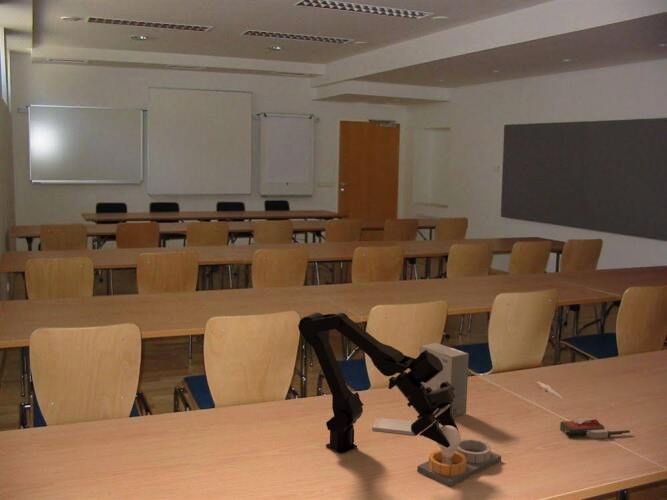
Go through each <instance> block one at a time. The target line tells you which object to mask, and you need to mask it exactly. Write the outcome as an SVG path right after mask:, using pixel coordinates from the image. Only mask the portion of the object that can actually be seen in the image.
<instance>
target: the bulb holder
mask: <svg viewBox="0 0 667 500" xmlns="http://www.w3.org/2000/svg"><path fill="white" fill-rule="evenodd" d="M500 462H502V455H500V454H498V453H495V452H493V451H492V445H490V444H489V443H488V442H486V441H483V440H481V439H476V438H461V441H460V444H459V446H458V447H457V448H456V450H455V452H454V455H453V460H452V465H448V464H442V453H441V449H439V450H435V451H433V452H430V453H429V456H428V461H425V462H423V463H421V464H418V465H417V473H420V474H422V475H424V476H427V477H429V478H431V479H433V480H436V481H437V482H440V483H441V484H444V485H446V486H448V487H454V486H456V485H458V484H460V483H462V482H463V481H465V480H467V479H469V478H471V477H473V476H475V475H477V474H479V473H481V472H482V471H484V470H487V469H488V468H490V467H492V466H494V465H496V464H498V463H500Z"/></svg>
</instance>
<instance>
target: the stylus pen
mask: <svg viewBox="0 0 667 500" xmlns="http://www.w3.org/2000/svg"><path fill="white" fill-rule="evenodd" d="M537 384H539V385H538V386H539V387H540V388H541V389H542V390H543V391H544V392H548V393H549V394H551V395H553V396H554V397H557V398H559V399H561V400H564V398H563V397H562V396H561V395H560V394H559V393H558V392H556V390H554V389H553V388H552V387H551V386H550V385H549V384H545V383H543V382H541V381H539V380H538V381H537Z"/></svg>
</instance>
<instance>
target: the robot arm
mask: <svg viewBox="0 0 667 500" xmlns="http://www.w3.org/2000/svg"><path fill="white" fill-rule="evenodd" d="M297 326H298V327H297V328H298V332H299V333H300V335H301V337H302V338H303V340H304V341H305V342H306V343H307V345H309V346H310V347H311V348H312V350H313V352H314V354H315V356H316V359H317V362H318V365H319V366H320V369H321V371H322V373H323V376H324V378H325V382H326V384H327V385H328V388H329V389H328V390H329V391H330V393H331V395H332V397H331V398H332V399H331V400H332V403H331V408H332V413H333V416H332V417H331V418H330V419H329V420H327V421H326V422H325V424H326V428H327V431H329V443H326V444H325V447H326V448H328V449H330V450H333V451H335V452H336V453H338V454H344V453H347V452H349V451H352V450H354V449H357V448H358V445H357V444H355V428H354V426H355V424H356V423H357V420H359V419H360V418H361V417H362V415H363V412H364V408H363V406H364V403H363V402H362V400H361V399H360V394H359V392H358V391H356V392H354V393H353V391H351V389H349V388H348V385H347V383H346V380H345V378H344V375H343V373H342V370H341V368H340V365H339V363H338V360H337V358H336V356H335V354H334V353H335V352H334V350H333V348H332V345H331V342H330V331H333V330H336V331H337V332H338V333H340V334H341V335H342V336H344V337H345V338H346V339H347V340H349V341H350V342H351V343H352V344H353V345H355V346H356V347H357V348H358V349H360V351H362V352H363V353H365V354H366V355H367V356H368V357H369V358H370V361H371V362H372V364H373V366H374V367H375V368H376V370H378V371H379V372H380V373H381V375H383V376H384V377H390V378H389V379H388V381H389V382H388V389H389V390H392V389H393V388H394V387H395V386H396V387H397V389H398V390H399V391H400V392H401V394H402V396H404V398H405V399H406V400H407V402H408V403H407V404H406V405H407V407H408V408H410V407H412V408H413V409H414V410H415V411H416V413H417V414H418V415H417V416H416V418H417V419H416V420H415V421H414V423H413V424H412V425H411V431H412V432H413V433H414V435H413V436H416V437H417V436H418V435H419V436H420V437H424V438H427V439H429V440H430V441H433V442H434V443H435V442H436V443H439V444H441V445H443V446H445V447H446V448H448V447H449V446H450V443H449V442H448V440H447V438H446V437H445V435H444V434H443V432H442V431H441V429H440V428H441V427H443V426H446V425H450V426H453V427H455V428H456V429H457V430H458V431H459V427H458V426H457V422H456V421H455V418H454V417H453V416H452V407H453V404H452V405H451V406H448V405H450V404H451V403H452V402H453V401H454V400H453V398H455V394H454V392H453V391H454V389H455V388H454V387H452V385H450V384H449V383H448V382H447V381H446V382H443V383H441V384H440V389H439V388H438V389H437V390H434V391H433V390H432V389H431V388H430V387H427V388H425V387H424V385H423V384H422V383H421V382H424V383H427V382H428V381H430V380H431V379H432V378H433V377H435V376H436V375H437V374H438V373H440V372H441V371H442V370H443V365H442V363H441V361H440V360H439V358H438V357H436V356H435V355H433V354H432V353H429V352H428V351H427V350H425V351H423V352H422V353H421V354H420V353H419V355H418V356H417V357H416V358H414V357H412V356H407V355H405V354H403V352H402V351H400V350H398V349H397V348H396V347H394V346H391V345H389V344H386V343H382V342H381V341H379V340H378V339H376V338H375V337H374V336H373V335H371V334H370V333H369V332H368V331H366V330H365V329H364V328H363V327H361V326H360V325H359V324H357V323H355V321H354V320H352V319H351V318H350V317H349V316H348V315H347V314H346V313H344V312H339V313H327V314H324V313H323V314H322V313H320V312H314V313H311V314H308V315H307V316H303V317H302V318H301V319H300V320H299V322H298V325H297ZM407 370H409V371H408V372H406V371H407ZM396 374H398V375H397V376H395V375H396ZM440 425H441V427H440ZM459 432H460V431H459Z"/></svg>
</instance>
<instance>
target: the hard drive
mask: <svg viewBox="0 0 667 500" xmlns="http://www.w3.org/2000/svg"><path fill="white" fill-rule="evenodd" d="M414 422H415V421H413V420H401V419H395V418H386V417H385V418H383V417H376V418H375V420H374V423H373V425H372V429H371V431H372V432H373V431H375V432H384V433H391V434H401V435H409V436H415V435H414V433H413V432H412V431H411V425H412V424H413V423H414Z"/></svg>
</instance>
